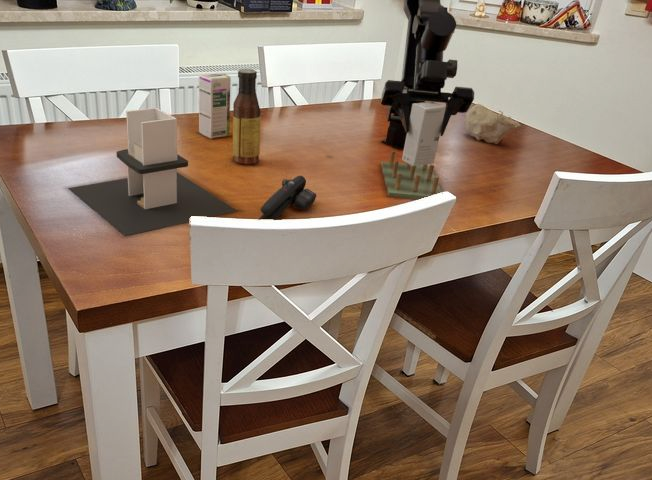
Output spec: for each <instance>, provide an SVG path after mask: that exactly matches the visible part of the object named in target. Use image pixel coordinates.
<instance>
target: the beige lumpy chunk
mask: <svg viewBox="0 0 652 480" xmlns="http://www.w3.org/2000/svg"><path fill="white" fill-rule="evenodd" d="M464 124H465V128H466V130H467V132H468V135H470V136H471V137H473V138H475V139H476V140H477V141H478V142H480V141H481V140H483V141H485V143H487V144H494V145H498V144H499V143H500V142H501V140H502V139H504V137H506V136H507V135H508V134H509V133H512V132H513V131H516V130H519V129H520V128H521V127H522V124H520V123H519V122H518V121H517V120H513V119H512V117H511V116H506V115H505V114H504V111H501V110H498V113H497V112H494V111H492V110H491V109H489V108H487V107H486V106H485V105H482V104H481V103H476V104H475V105H473V106H472V107H470V108H469V109H468V111H467V112H466V115H465V121H464Z"/></svg>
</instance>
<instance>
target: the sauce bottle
mask: <svg viewBox="0 0 652 480" xmlns="http://www.w3.org/2000/svg"><path fill="white" fill-rule="evenodd" d="M257 75H258V73H257V70H255V69H252V68H242V69H238V71H237V77H238V89H237V90H238V93H237V95H236V97H235V99H234V101H233V107H232V108H233V111H232V112H233V115H232V155H233V161H234V162H235V163H238V164H240V165H248V166H249V165H250V166H251V165H255V164H257V163H258V162H259V160H260V154H261V153H260V152H261V119H262V117H261V116H262V115H261V114H262V111H261V107H260V104H259V99H258V95H257V89H256V87H257V86H256V85H257V84H256V83H257V78H258V76H257Z"/></svg>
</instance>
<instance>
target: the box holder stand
mask: <svg viewBox="0 0 652 480" xmlns="http://www.w3.org/2000/svg"><path fill="white" fill-rule="evenodd" d="M125 117H126V134H127V135H126V137H127V149H121V150H117V151H116V158H117V159H119V161H121V162H122V163H123V164H124V165H126V168H127V177H125V178H119V179H112V180H107V181H101V182H96V183H95V182H94V183H90V184H84V185H78V186H72V187H67V188H68V190H69V191H70V192H71V193H73V194H74V195H76V196H77V198H79V199H80V200H81V201H82V202H84V203H85V204H86V205H87V206H89V207H90V208H91V209H92V210H93V211H95V212H96V213H97V214H98V215H100V216H101V217H102V218H103V219H104V220H105V221H106V222H107V223H109V224H110V225H111V226H112V227H114V229H116V230H117V231H118V232H120V233H121V234H122V235H123V236H125V237H127V236H131V235H132V236H133V235H137V234H140V233H145V232H149V231H154V230H158V229H162V228H168V227H173V226H176V225H177V226H178V225H181V224H185V223H190V222H189V218H190V217H191V216H207V217H209V218H213V217H217V216H221V215H225V214H231V213H235V212H239V210H238V209H236V208H234V207H233V206H231V204H228V203H227V202H225V201H224V200H222V199H220V198H218V197H217V196H216V195H214V194H213V193H211V192H209V191H208V190H206V189H205V188H203V187H202V186H200V185H198V184H197V183H195V182H194V181H191V180H190V179H189V178H187V177H186V176H184V175H183V174H181V173H179V172H178V171H177V169H181V168H182V169H183V168H187V167H189V160H187V159H186V158H185V157H183V156H181V155H179V154H178V118H176V117H175V116H173V115H171V114H169V113H167V112H165V111H163V110H162V109H160V108H157V107H151V108H150V107H149V108H141V109H132V110H126V111H125Z"/></svg>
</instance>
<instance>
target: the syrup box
mask: <svg viewBox="0 0 652 480" xmlns="http://www.w3.org/2000/svg"><path fill="white" fill-rule="evenodd" d="M231 82H232V80H231V76H229V75H227V74H226V73H223V72H219V71H215V72H209V73H208V72H207V73H199V74H198V132H199V133H200V134H201V135H202V136H204V137H206V138H208V139H216V138H223V137H224V138H225V137H230V126H231V125H230V124H231V123H230V121H231Z"/></svg>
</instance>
